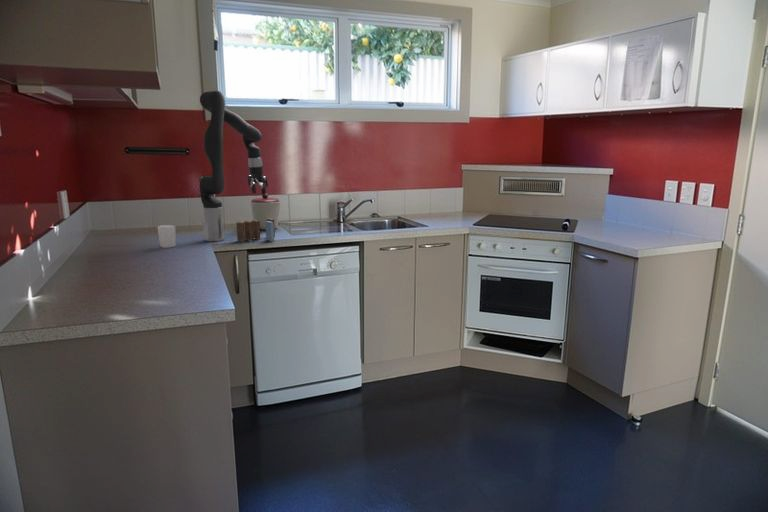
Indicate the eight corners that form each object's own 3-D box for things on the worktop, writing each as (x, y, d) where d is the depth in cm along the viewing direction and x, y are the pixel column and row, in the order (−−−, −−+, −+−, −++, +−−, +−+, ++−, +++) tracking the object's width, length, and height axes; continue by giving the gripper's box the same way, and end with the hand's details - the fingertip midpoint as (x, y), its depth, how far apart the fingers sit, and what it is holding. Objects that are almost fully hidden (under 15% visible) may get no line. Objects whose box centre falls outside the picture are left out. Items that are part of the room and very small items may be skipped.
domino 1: (242, 242, 263) (241, 223, 261) (237, 240, 267) (236, 221, 265) (245, 241, 264) (244, 222, 262) (240, 240, 268) (239, 221, 266)
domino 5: (271, 241, 266) (270, 222, 263) (266, 240, 269) (265, 221, 267) (274, 241, 267) (273, 222, 265) (268, 239, 270) (268, 221, 268)
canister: (252, 231, 295) (250, 195, 291) (249, 227, 312) (247, 192, 307) (283, 230, 301) (282, 194, 296) (279, 225, 317) (278, 191, 313)
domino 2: (250, 241, 266) (249, 222, 264) (245, 239, 270) (244, 221, 268) (252, 240, 267) (251, 221, 265) (247, 239, 271) (246, 220, 269)
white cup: (172, 244, 256) (171, 224, 254) (179, 246, 251) (177, 226, 249) (156, 246, 251) (154, 226, 249) (163, 248, 246) (161, 228, 243)
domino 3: (257, 240, 269) (256, 221, 267) (252, 238, 273) (251, 220, 271) (260, 239, 270) (259, 220, 268) (255, 238, 274) (254, 219, 272)
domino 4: (272, 238, 276) (271, 219, 273) (267, 236, 279) (266, 218, 277) (274, 237, 277) (274, 219, 275) (269, 236, 280) (269, 218, 278)
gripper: (242, 166, 291) (245, 194, 295) (258, 167, 282) (262, 196, 287) (252, 164, 296) (256, 191, 301) (269, 165, 288) (272, 193, 293)
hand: (259, 194), depth 294 cm, fingers open, 8 cm apart
